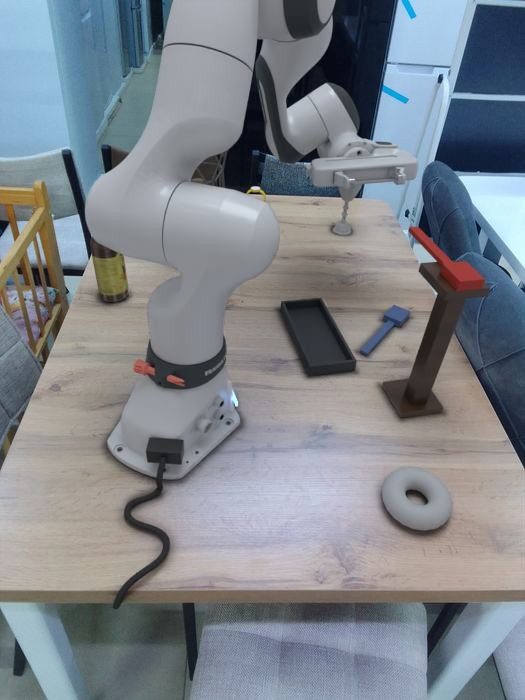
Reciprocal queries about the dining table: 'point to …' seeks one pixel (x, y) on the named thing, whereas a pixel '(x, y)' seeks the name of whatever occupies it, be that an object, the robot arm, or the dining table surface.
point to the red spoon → (450, 265)
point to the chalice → (346, 195)
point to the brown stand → (431, 346)
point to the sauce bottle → (109, 272)
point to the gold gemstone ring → (257, 189)
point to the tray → (317, 337)
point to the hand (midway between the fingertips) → (376, 182)
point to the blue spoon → (387, 326)
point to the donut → (413, 513)
